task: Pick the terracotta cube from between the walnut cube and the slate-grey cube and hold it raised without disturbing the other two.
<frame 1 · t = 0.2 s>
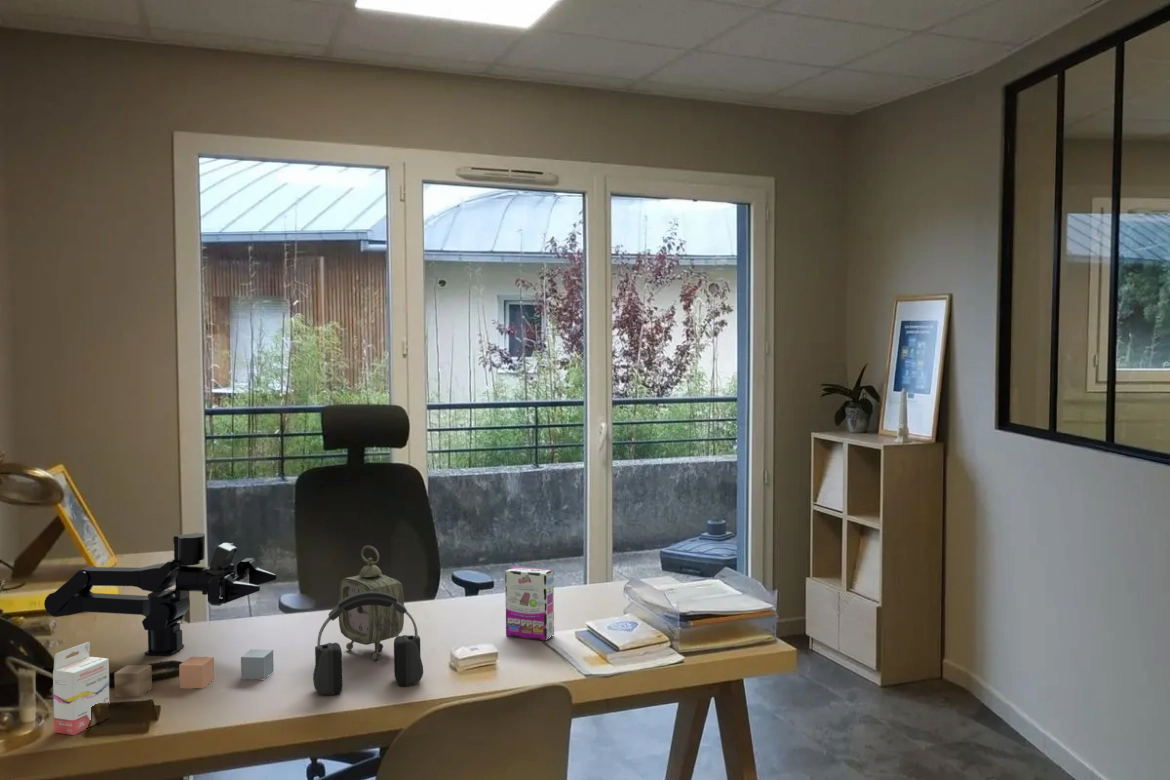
hand: (268, 582, 211), 17 cm above the table, tool horizontal, fingers open, 9 cm apart
tabletop clock: (372, 653, 213), on the table
walnut cube: (133, 693, 188), on the table
terracotta cube: (197, 684, 193), on the table
candy bar box: (530, 636, 224), on the table
headphones: (369, 687, 191), on the table
ink cartridge box: (83, 726, 172), on the table
slate grey cube: (257, 676, 198), on the table
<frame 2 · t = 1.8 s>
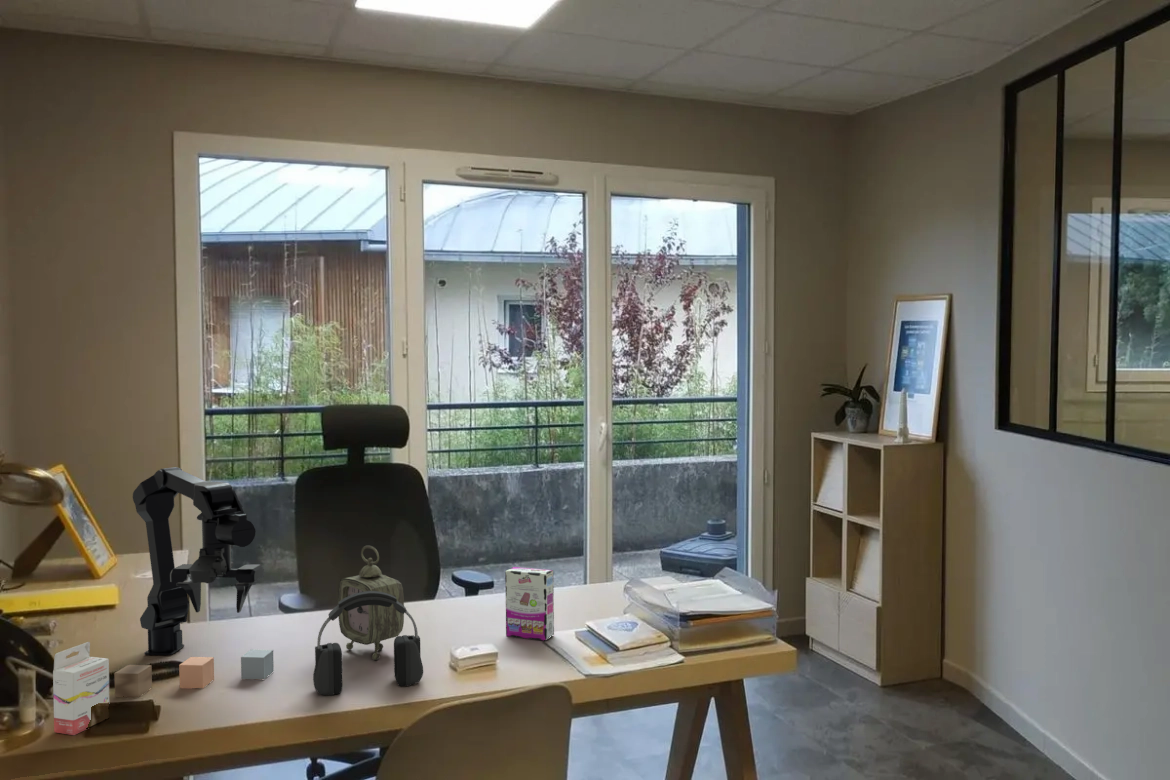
hand: (218, 612, 201), 13 cm above the table, tool pointing down, fingers open, 9 cm apart
nothing on the table moved.
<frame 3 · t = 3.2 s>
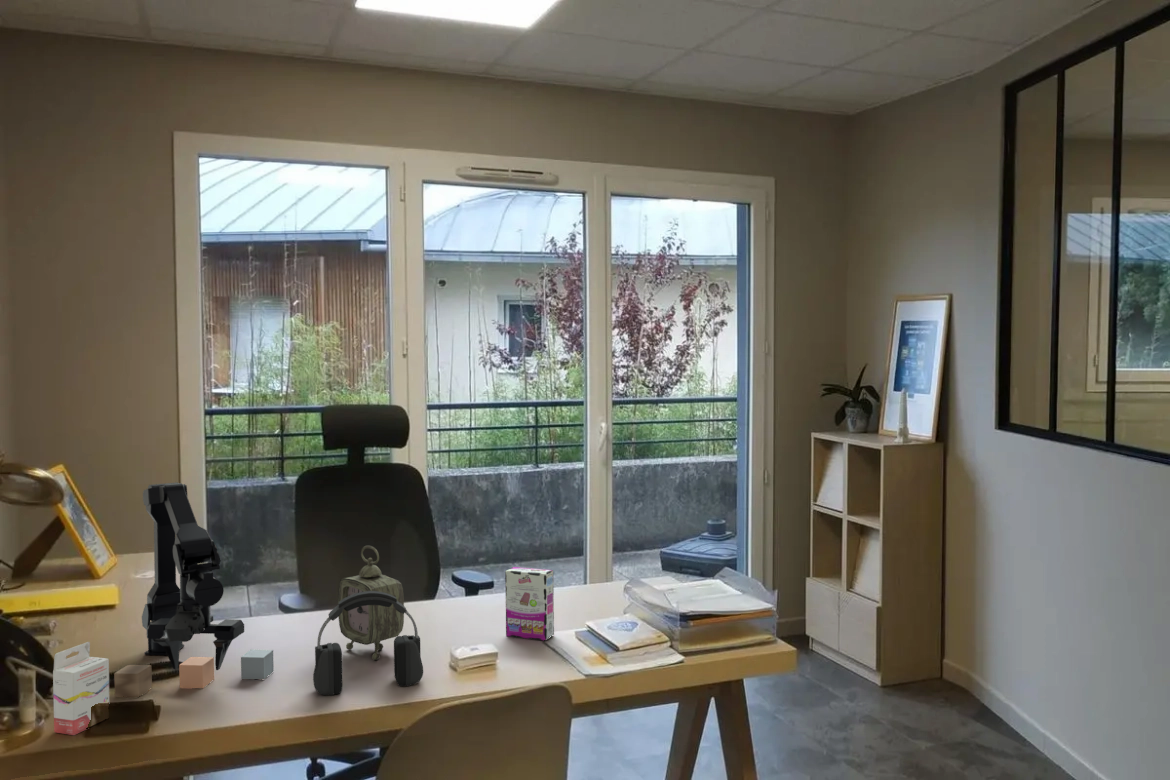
hand: (196, 669, 193), 3 cm above the table, tool pointing down, fingers open, 9 cm apart
nothing on the table moved.
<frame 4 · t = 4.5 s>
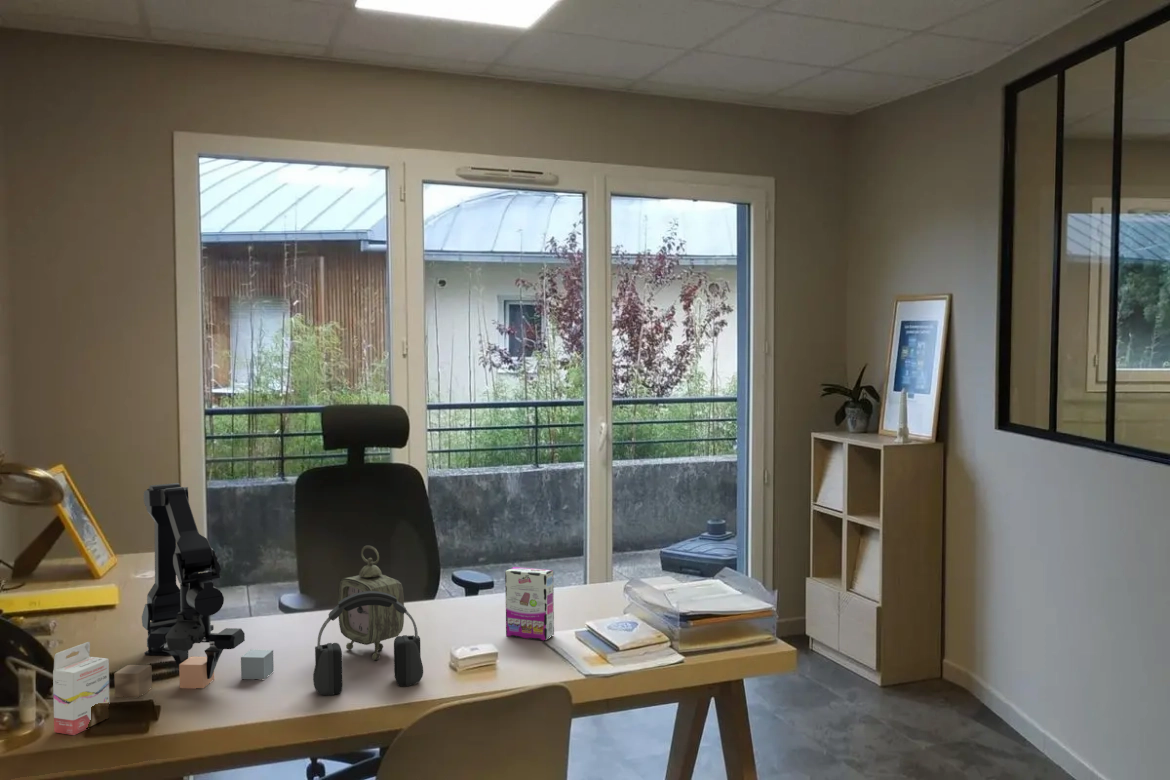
hand: (197, 678, 193), 1 cm above the table, tool pointing down, fingers closed on terracotta cube, 5 cm apart
terracotta cube: (197, 684, 193), on the table, touching gripper
everything else where it was.
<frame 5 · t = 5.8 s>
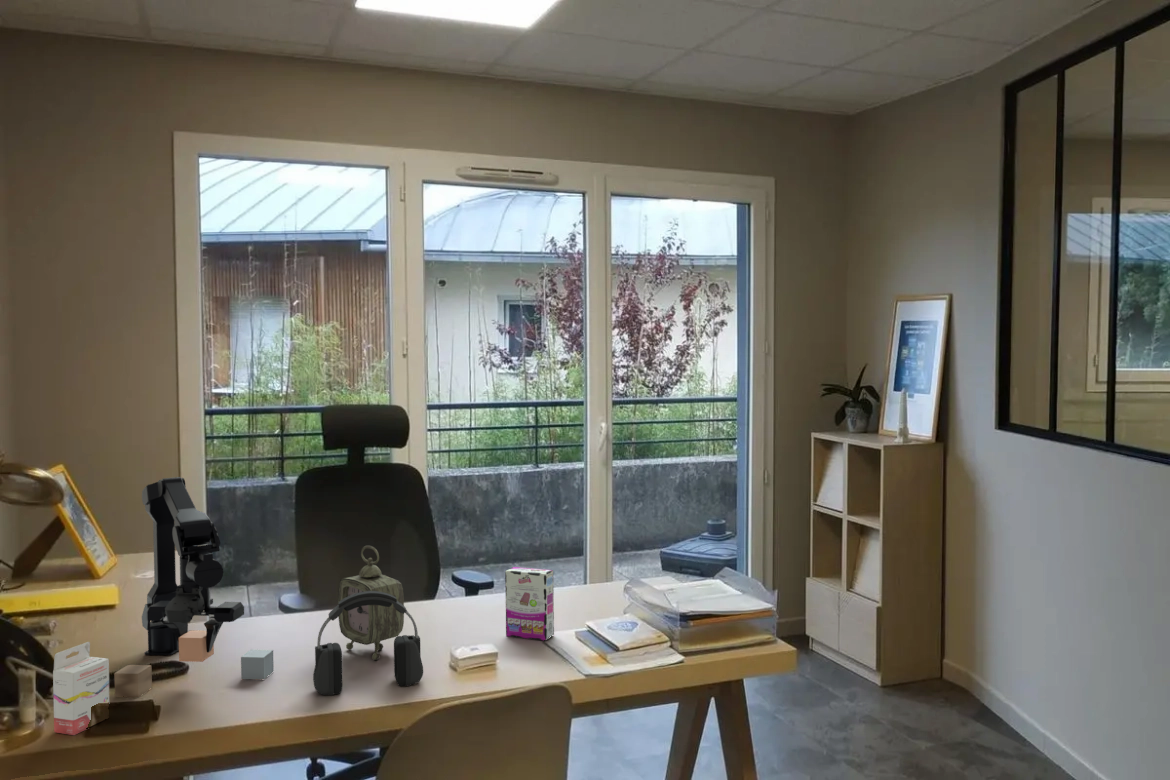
hand: (196, 651, 193), 7 cm above the table, tool pointing down, fingers closed on terracotta cube, 5 cm apart
terracotta cube: (196, 657, 193), point 6 cm above the table, touching gripper
everything else where it was.
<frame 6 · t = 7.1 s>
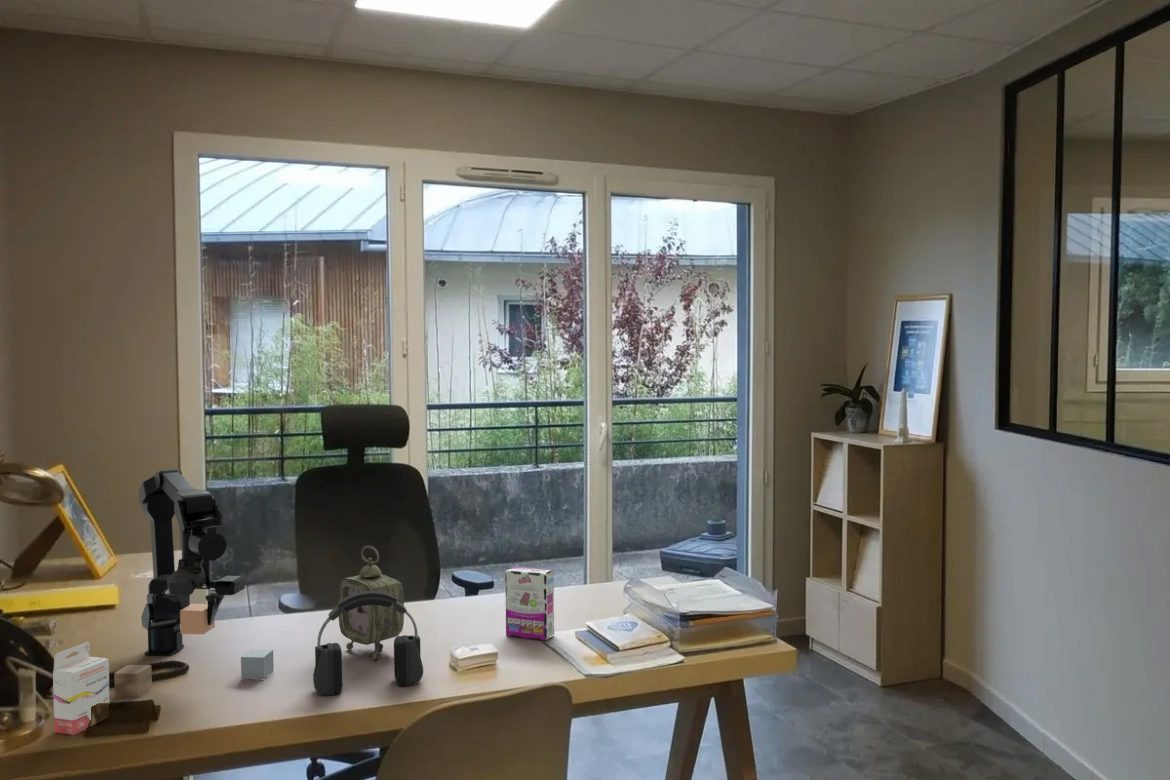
hand: (197, 624, 195), 12 cm above the table, tool pointing down, fingers closed on terracotta cube, 5 cm apart
terracotta cube: (197, 630, 195), point 11 cm above the table, touching gripper
everything else where it was.
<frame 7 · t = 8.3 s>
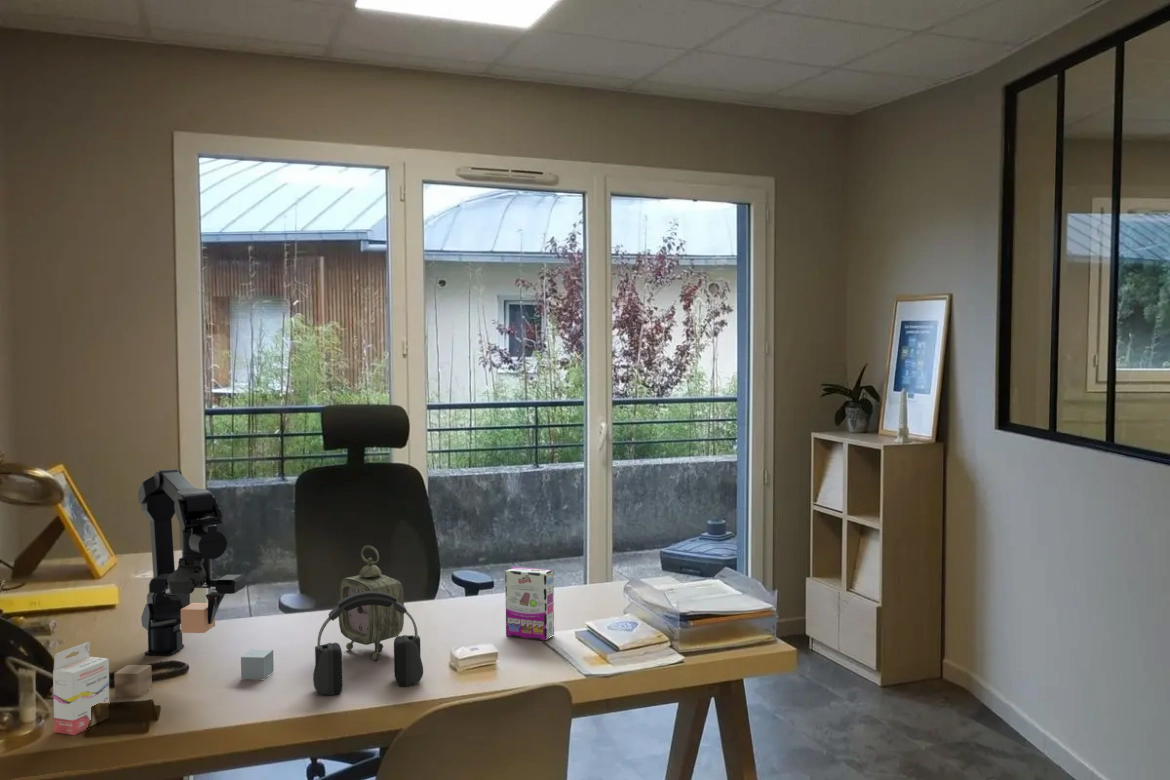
hand: (198, 623, 196), 12 cm above the table, tool pointing down, fingers closed on terracotta cube, 5 cm apart
terracotta cube: (198, 629, 196), point 11 cm above the table, touching gripper
everything else where it was.
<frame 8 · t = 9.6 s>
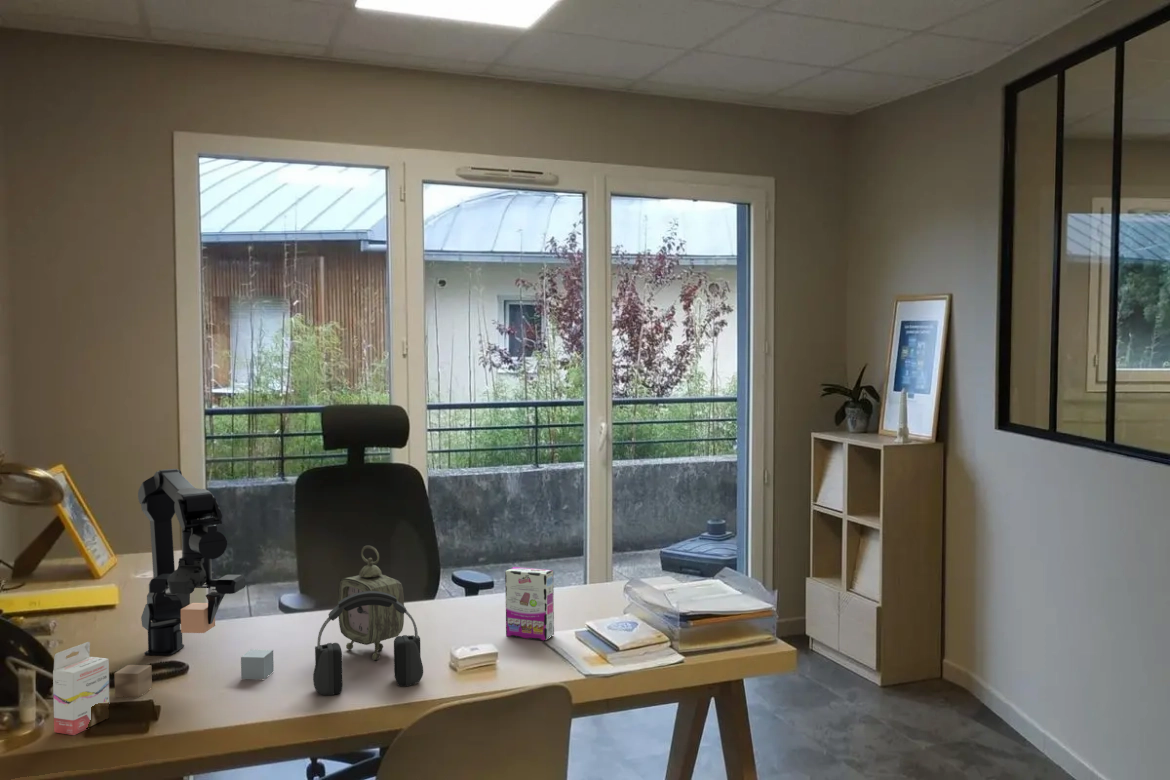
hand: (198, 623, 196), 12 cm above the table, tool pointing down, fingers closed on terracotta cube, 5 cm apart
terracotta cube: (198, 629, 196), point 11 cm above the table, touching gripper
everything else where it was.
at the end: terracotta cube point 10.7 cm above the table; walnut cube moved 0.1 cm from its start; slate grey cube moved 0.1 cm from its start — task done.
